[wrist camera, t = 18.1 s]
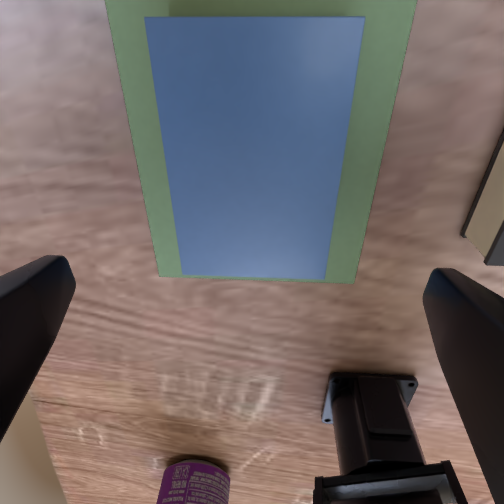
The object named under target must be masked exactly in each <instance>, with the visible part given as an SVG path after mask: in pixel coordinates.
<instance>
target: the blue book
mask: <svg viewBox="0 0 504 504" xmlns="http://www.w3.org/2000/svg"><path fill="white" fill-rule="evenodd" d="M144 22H145V29H146V35H147V42H148V49H149V55H150V62H151V69H152V75H153V82H154V89H155V95H156V102H157V109H158V115H159V122H160V129H161V135H162V142H163V149H164V155H165V162H166V169H167V175H168V182H169V189H170V195H171V202H172V209H173V215H174V222H175V229H176V235H177V242H178V249H179V255H180V262H181V269H182V274H183V275H205V276H233V277H262V278H291V279H320V280H324V279H325V274H326V268H327V261H328V255H329V249H330V242H331V236H332V229H333V223H334V216H335V210H336V204H337V197H338V191H339V184H340V178H341V172H342V165H343V159H344V152H345V146H346V139H347V133H348V127H349V120H350V114H351V107H352V101H353V95H354V88H355V82H356V75H357V69H358V62H359V56H360V50H361V43H362V37H363V30H364V24H365V16H213V17H144Z"/></svg>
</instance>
